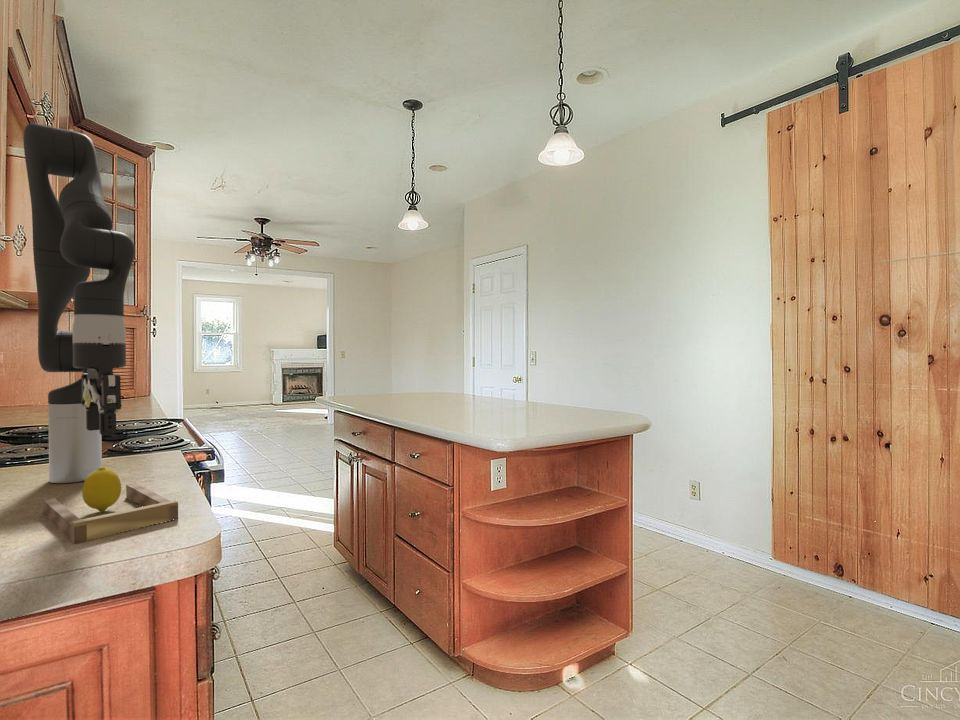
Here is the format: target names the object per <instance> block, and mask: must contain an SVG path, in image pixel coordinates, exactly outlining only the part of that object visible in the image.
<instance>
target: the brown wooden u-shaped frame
mask: <svg viewBox="0 0 960 720" xmlns="http://www.w3.org/2000/svg"><path fill="white" fill-rule="evenodd" d="M125 487H126V488H125V492H126V494H125V496H126V497H127V498H126V499H128V498H129V499H128V500H130V499H131V500H130V501H131V502H133V501H134V502H133V503H135V502H136V503H135V504H137V503H138V504H137V505H138V506H140V505H141V506H140V507H136V508H131V509H125V510H120V511H116V512H112V513H106V514H101V515H96V516H93V517H87V518H83V519H81V518H79V517H78V516H77V515H76V514H74V512H72V511H71V510H70V509H68V508H67V507H66V506H65V505H63V504H62V503H61V502H60V501H58V500H57V499H56V498H55V497H49V498H43V499H42V500H41V501H42V515H43V516H45V517H46V519H48V520H49V521H50V522H51V523H52V525H54V526H55V525H56V526H57V527H58V528H59V529H60V530H61V531H62V532H63V533H64V534H63V533H62V532H61V531H60V530H59V529H58V528H57V527H56V526H55V527H56V528H57V529H58V530H59V531H60V532H61V533H62V534H63V535H65V537H67V539H69V540H70V541H71V543H72V544H80V543H84V542H89V541H92V540H96V539H101V538H105V537H108V536H109V535H110V536H114V535H117V534H116V533H118V534H121V533H120V532H122V533H125V532H124V531H127V532H129V531H128V530H131V531H133V530H132V529H135V530H138V529H137V528H139V529H141V528H140V527H144V528H146V527H145V526H148V527H150V526H149V525H152V526H154V525H153V524H156V523H160V524H162V523H161V522H165V521H169V520H173V519H177V520H179V501H177V500H175V499H173V500H169V499H168V498H166V497H164V496H162V495H160V494H158V493H156V492H154V491H152V490H150V489H148V488H145V487H144V486H142V485H139V484H137V483H129V484H126V485H125ZM142 506H143V507H142ZM173 521H174V520H173ZM169 522H170V521H169ZM165 523H166V522H165ZM156 525H157V524H156ZM113 534H114V535H113Z"/></svg>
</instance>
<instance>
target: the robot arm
mask: <svg viewBox="0 0 960 720" xmlns="http://www.w3.org/2000/svg"><path fill="white" fill-rule="evenodd" d="M23 153H24V160H25V167H26V173H27V180H28V181H27V182H28V188H29V196H30V205H31V222H32V224H31V225H32V251H33V252H32V253H33V254H32V255H33V264H34V274H35V275H34V276H35V283H36V292H37V304H38V305H37V311H38V314H37V315H38V317H37V319H38V320H37V326H38V327H37V353H38V362H39V365H40V367H41V369H42V371H45V372H47V373H81V376H80V378H79V379H78V380H76V381H74V382H72V383H70V384H68V385H65V386H61V387H58V388H55V389H51V390H50V391H49V392H48V394H47V401H48V402H47V403H48V404H47V407H48V408H47V409H48V410H47V411H48V413H47V415H48V417H47V418H48V420H47V421H48V476H49V477H48V479H49V480H48V481H49V483H51V484H52V483H54V484H68V483H69V484H70V483H79V482H85V480H86V478H87V477H88V475H90V474H91V473H92V472H94V471H96V470H98V469H99V468H100V467H103V466H102V465H103V463H102V462H103V461H102V459H103V458H102V457H103V456H102V454H103V450H102V449H103V447H102V446H103V445H102V436H113V435H115V434H116V433H117V413H118V411H119V410H121V409H122V406H123V405H122V391H121V390H122V388H121V387H122V386H121V385H122V384H121V379H122V378H121V375H120V374H114V371H113V370H114V369H121V368H122V369H123V368H125V367H126V366H127V340H126V339H127V338H126V337H127V335H126V334H127V332H126V331H127V329H126V323H125V317H124V316H125V312H124V311H125V309H124V308H125V306H124V305H125V304H124V303H125V302H124V296H125V291H126V290H125V289H126V285H127V280H128V277H129V274H130V272H131V269H132V266H133V263H134V260H135V256H136V247H135V243H134V241H133V240H132V238H131V237H130V236H129V235H128V234H126V233H124V232H120V231H115V230H113V228H114V227H113V226H114V224H113V220H112V217H111V214H110V212H109V209H108V206H107V204H106V201H105V199H104V198H105V197H104V194H103V187H102V179H101V172H100V168H99V166H100V165H99V161H98V156H97V155H98V154H97V150H96V146H95V145H94V142H93V141H92V139H91V138H90V137H88V136H87V135H86V134H85V133H84V134H83V133H82V132H78V131H74V130H70V129H63V128H59V127H54V126H49V125H44V124H41V123H40V124H39V123H32V122H31V123H28V124H26V126H25V128H24V130H23ZM49 175H52V176H57V177H65V178H71V180H70V181H69V182H68V183H66V184H65V186H64V187H63V188H62V189H61V191H60V193H59V196H58V198H57V196H56V194H55V192H54V190H53V188H52V184H51V182H50V179H49ZM91 269H99V270H107V271H108V274H107V276H106V277H105V278H104V279H100V280H99V279H98V280H88V279H89V277H90V275H91ZM72 299H73V313H74V315H73V323H72V330H59V329H58V325H59V322H60V318H61V317H62V314H63V312H64V311H65V309H66V308H67V306H68V305H69V303H70V302H71V300H72Z"/></svg>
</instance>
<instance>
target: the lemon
mask: <svg viewBox="0 0 960 720" xmlns="http://www.w3.org/2000/svg"><path fill="white" fill-rule="evenodd" d="M83 482H84V483H83V486H82V490H81V492H82V499H83V502H84V503H85V505H87V506H88V507H89V508H91V509H94V510H97V511H98V512H100V513H102V512H105V511H107V509H108V508H110V507H111V506H113V505H114V504H116V503H117V501H118V500H119V498H120V496H121V494H122V493H121V492H122V483H121V479H120V477H119V475H118V473H116V472H115V471H114V470H112V469H110V468H106V467H105V466H102V467H100V468H99V469H98V470H96V471H94V472H92V473H91V474H90V475H88V477H87V478H86V480H85V481H83Z"/></svg>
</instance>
